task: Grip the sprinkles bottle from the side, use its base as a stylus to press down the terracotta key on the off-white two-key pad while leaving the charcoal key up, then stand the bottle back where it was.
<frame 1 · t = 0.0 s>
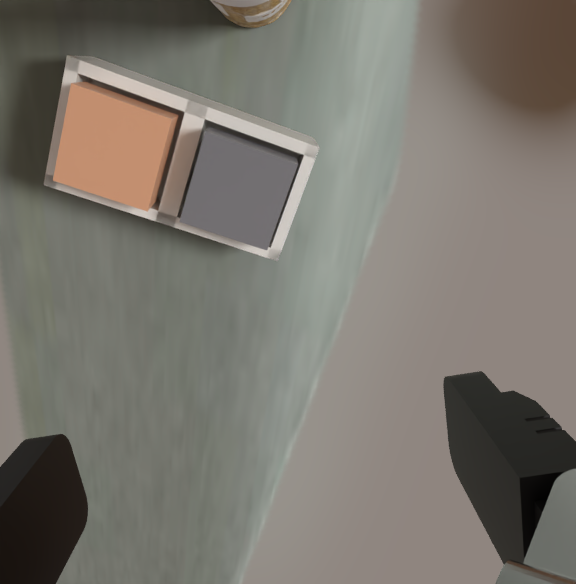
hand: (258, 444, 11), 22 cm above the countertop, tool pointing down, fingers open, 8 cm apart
key charcoal: (238, 189, 27), point 4 cm above the countertop, slide at 0.0 cm
key terracotta: (116, 147, 26), point 5 cm above the countertop, slide at 0.0 cm
keypad: (191, 154, 31), on the countertop
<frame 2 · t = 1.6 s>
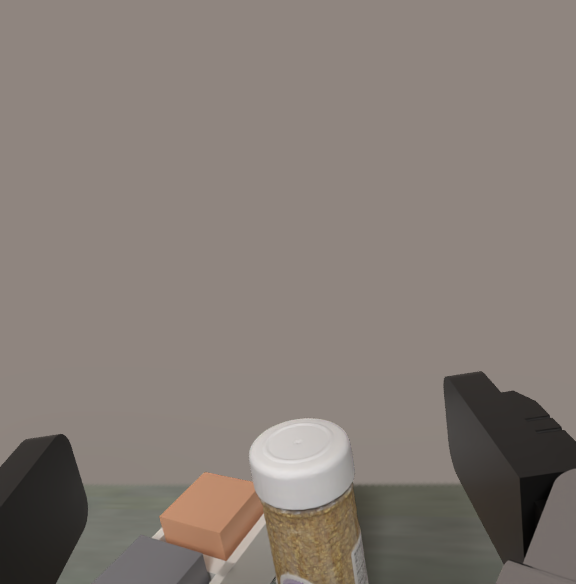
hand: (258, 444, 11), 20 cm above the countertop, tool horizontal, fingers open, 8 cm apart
key terracotta: (214, 513, 34), point 4 cm above the countertop, slide at 0.0 cm
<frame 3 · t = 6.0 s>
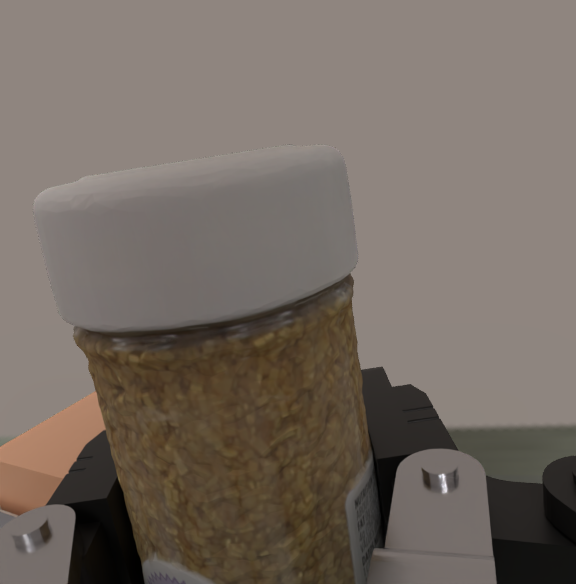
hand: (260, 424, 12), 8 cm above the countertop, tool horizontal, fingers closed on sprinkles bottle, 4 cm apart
key terracotta: (95, 455, 18), point 4 cm above the countertop, slide at 0.0 cm
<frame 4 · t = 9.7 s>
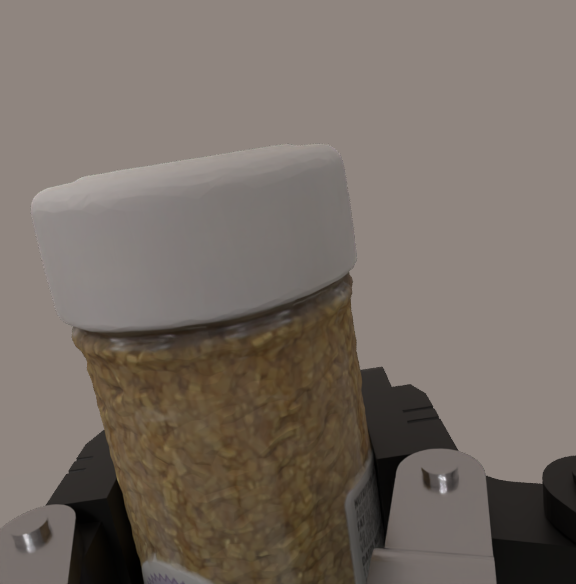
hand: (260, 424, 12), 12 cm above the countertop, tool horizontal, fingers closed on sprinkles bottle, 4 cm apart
when the fingers open (9 cm above the countertop, at t = 14.1 s): sprinkles bottle drops 1 cm, on the countertop.
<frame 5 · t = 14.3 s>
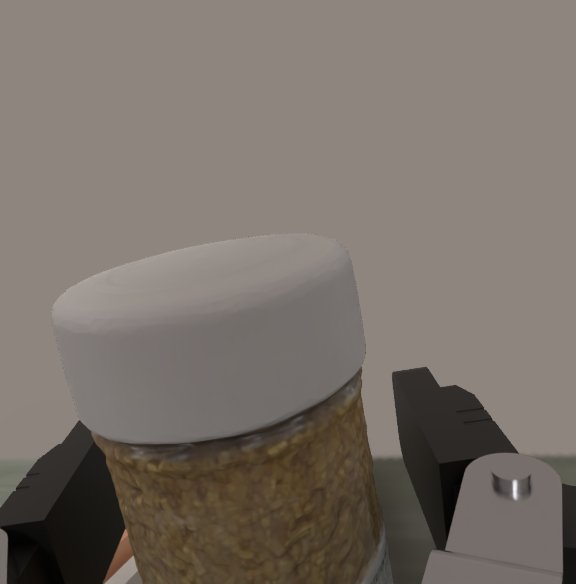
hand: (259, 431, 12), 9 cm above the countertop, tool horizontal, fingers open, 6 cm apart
key terracotta: (112, 521, 19), point 3 cm above the countertop, slide at 1.1 cm
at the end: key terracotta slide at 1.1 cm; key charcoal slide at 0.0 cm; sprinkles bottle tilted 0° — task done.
